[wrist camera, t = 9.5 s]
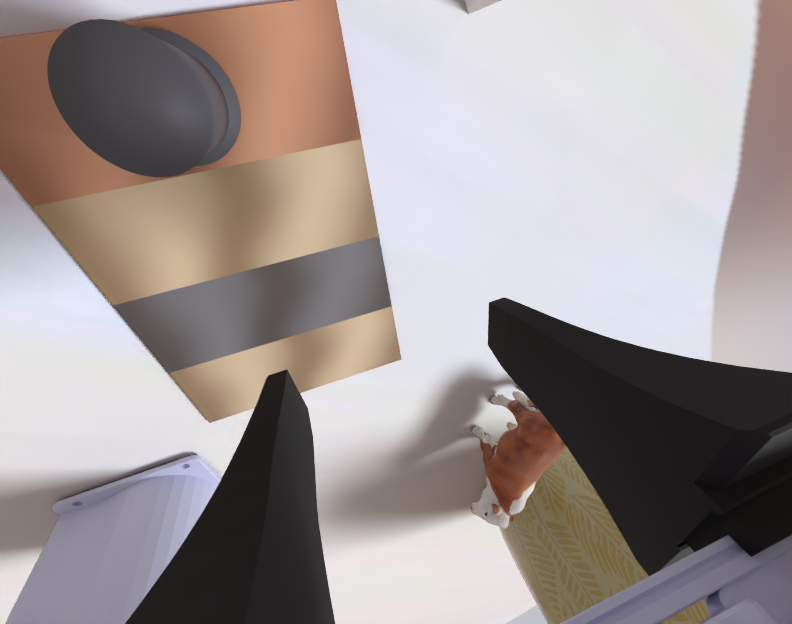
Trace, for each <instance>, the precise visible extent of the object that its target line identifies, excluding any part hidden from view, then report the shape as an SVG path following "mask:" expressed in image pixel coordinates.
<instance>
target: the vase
mask: <svg viewBox="0 0 792 624" xmlns="http://www.w3.org/2000/svg"><path fill="white" fill-rule="evenodd" d="M512 516H513V518H514V521H513V522H509V525H508V527H507V528H505V529H504V528H501V527H499V528H500V531H501V534H502V536H503V538H504V540H505V543H506V545H507V547H508V549H509V551H510V553H511V555H512V557H513V559H514V561H515V563H516V565H517V567H518V569H519V571H520V573H521V575H522V577H523V579H524V581H525V583H526V585H527V587H528V588H529V590H530V592H531V594H532V596H533V598H534V600H535V601H536V603H537V605H538V607H539V609H540V610H541V612H542V614H543V616H544V617H545V619H546V621H547V623H548V624H560V623H562V622H564V621H566V620H568V619H570V618H571V617H573V616H575V615H577V614H579V613H581V612H583V611H585V610H587V609H589V608H590V607H592V606H594V605H596V604H598V603H600V602H602V601H604V600H606V599H607V598H609V597H611V596H613V595H615V594H617V593H619V592H621V591H623V590H625V589H626V588H628V587H630V586H632V585H634V584H636V583H638V582H640V581H642V580H643V579H645V578H647V577H649V576H648V574H647V573H646V572H645V571H644V569H643V568H642V567H641V565H640V564H639V563H638V562H637V560H636V559H635V557H634V555H633V554H632V552H631V550H630V548H629V546H628V544H627V543H626V541H625V539H624V537H623V536H622V534H621V532H620V531H619V529H618V527H617V526H616V524H615V522H614V520H613V519H612V517H611V515H610V514H609V512H608V510H607V508H606V507H605V505H604V504H603V502H602V500H601V499H600V497H599V496H598V494H597V492H596V491H595V489H594V488H593V486H592V484H591V483H590V481H589V480H588V478H587V476H586V475H585V473H584V472H583V470H582V469H581V467H580V466H579V464H578V463H577V461H576V460H575V458H574V457H573V455H572V454H571V452H570V451H569V449H568V448H566V449H565V450H564V451H563V452H562V453H561V455H560V456H559V457H558V458H557V459H556V460H555V461H554V462H553V463H552V464H551V465H550V466H549V467H548V468H547V469H546V470H545V471H544V472H543V474H542V475H541V476H540V478H539V479H538V481H537V483H536V485H535V488H534V490H533V492H532V493H531V494H530V495H529V497H528V498H527V500H526V504H525V506H524V508H523V510H522V511H521V512H519V513H517V514H513V515H512ZM706 599H707V597H706V598H704V599H703V600H701V601H699V602H697V603H695V604H694V605H692V606H690V607H688V608H686V609H685V610H683V611H681V612H679V613H678V614H676V615H674V616H672V617H670V618H669V619H667V620H665V621H663V622H661V623H660V624H698V623H700V622H701V621H703V620H705V619H707V618H708V616H709V611H708V609H707V606H706Z"/></svg>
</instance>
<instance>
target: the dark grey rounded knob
mask: <svg viewBox="0 0 792 624" xmlns="http://www.w3.org/2000/svg"><path fill="white" fill-rule="evenodd" d="M47 74H48V82H49V87H50V91H51V94H52V97H53V100H54V102H55V104H56V106H57V108H58V110H59V112H60V114H61V115H62V117H63V119H64V120H65V122H66V123H67V125H68V126H69V127H70V129H71V130H72V131H73V132H74V133H75V135H76V136H77V137H78V138H79V139H80V140H81V141H82V142H83V143H84V144H85V145H86V146H87V147H88V148H90V149H91V150H92V151H93V152H95V153H96V154H97V155H99V156H100V157H102V158H103V159H105V160H106V161H108V162H110V163H111V164H113V165H115V166H117V167H119V168H121V169H124V170H126V171H129V172H132V173H135V174H139V175H143V176H149V177H170V176H176V175H179V174H182V173H184V172H187V171H189V170H190V169H192V168H193V167H195V166H203V165H208V164H211V163H213V162H216V161H218V160H219V159H221V158H222V157H224V156H225V155H226V154H227V153H228V152H229V151H230V150H231V148H232V147H233V146H234V144H235V142H236V140H237V138H238V135H239V132H240V127H241V110H240V105H239V101H238V98H237V94H236V92H235V90H234V87H233V85H232V83H231V81H230V80H229V78H228V76H227V75H226V73H225V72H224V70H223V69H222V68H221V67H220V65H219V64H218V63H217V62H216V61H215V60H214V59H213V58H212V57H211V56H210V55H209V54H208V53H207V52H206V51H204V50H203V49H202V48H201V47H199V46H198V45H196V44H194V43H193V42H191V41H190V40H188V39H186V38H184V37H182V36H180V35H178V34H176V33H173V32H170V31H166V30H162V29H156V28H141V29H139V28H136V27H134V26H131V25H128V24H126V23H122V22H117V21H113V20H104V19H98V20H88V21H83V22H79V23H77V24H75V25H72V26H70V27H69V28H67V29H66V30H65V31H63V32H62V33H61V34H60V35H59V36H58V38H57V39H56V40H55V42H54V44H53V45H52V48H51V51H50V53H49V57H48V64H47Z"/></svg>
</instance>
